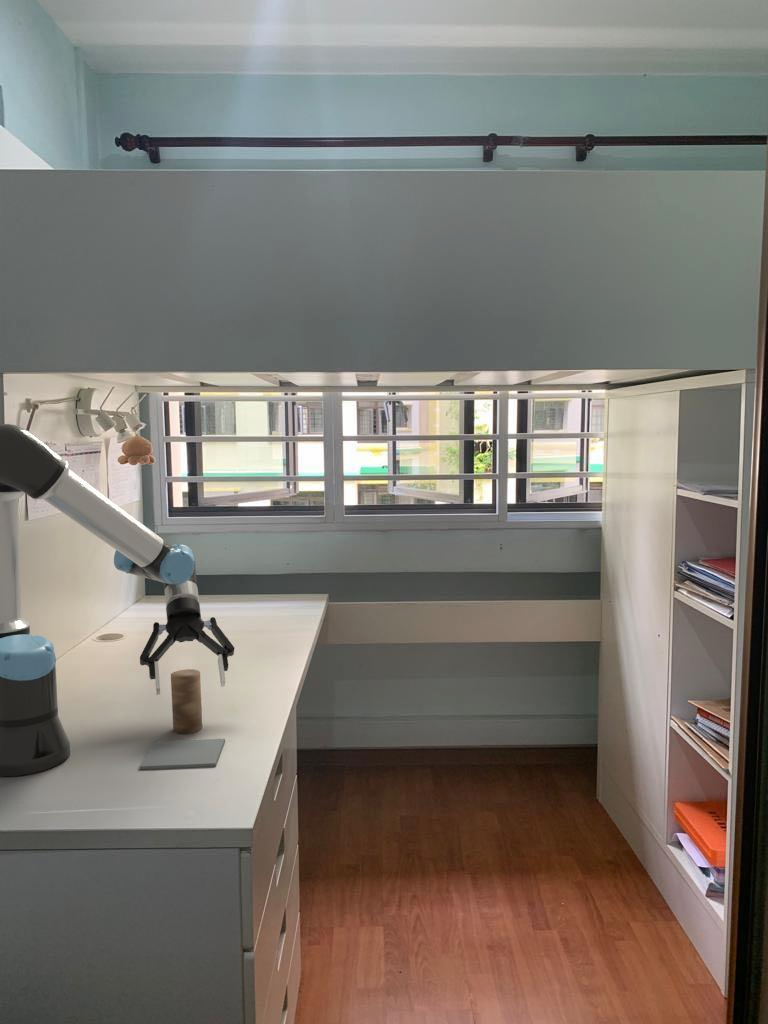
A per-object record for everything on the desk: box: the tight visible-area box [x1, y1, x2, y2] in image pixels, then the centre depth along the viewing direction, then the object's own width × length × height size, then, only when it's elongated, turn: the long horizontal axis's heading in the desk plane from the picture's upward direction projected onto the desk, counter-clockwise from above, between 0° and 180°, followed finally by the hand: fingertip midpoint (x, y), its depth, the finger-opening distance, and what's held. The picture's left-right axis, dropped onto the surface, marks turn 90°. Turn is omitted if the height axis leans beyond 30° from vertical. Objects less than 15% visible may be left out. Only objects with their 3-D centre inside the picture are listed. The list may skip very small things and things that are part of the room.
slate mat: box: [139, 738, 226, 770], centre depth 148 cm, size 14×12×1 cm
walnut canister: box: [170, 668, 203, 735], centre depth 161 cm, size 6×6×12 cm
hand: (191, 687), depth 164 cm, fingers open, 13 cm apart
